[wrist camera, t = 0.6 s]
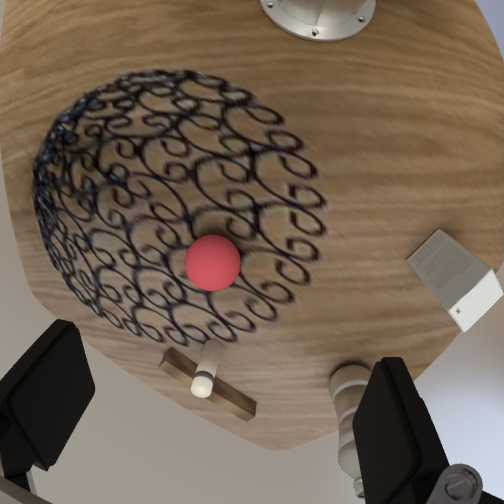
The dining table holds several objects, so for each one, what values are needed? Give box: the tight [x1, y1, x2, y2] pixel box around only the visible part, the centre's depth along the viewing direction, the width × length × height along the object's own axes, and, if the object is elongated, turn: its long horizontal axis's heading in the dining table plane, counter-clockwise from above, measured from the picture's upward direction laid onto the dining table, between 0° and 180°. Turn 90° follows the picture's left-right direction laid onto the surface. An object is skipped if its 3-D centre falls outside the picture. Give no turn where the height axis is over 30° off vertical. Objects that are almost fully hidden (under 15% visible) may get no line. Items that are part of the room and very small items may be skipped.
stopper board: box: [159, 347, 256, 422], centre depth 44 cm, size 16×2×3 cm, turn 49°
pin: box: [191, 340, 222, 398], centre depth 39 cm, size 2×2×9 cm
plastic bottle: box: [329, 365, 371, 499], centre depth 34 cm, size 6×7×20 cm
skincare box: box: [406, 229, 504, 332], centre depth 30 cm, size 6×4×12 cm
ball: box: [185, 235, 241, 291], centre depth 34 cm, size 6×6×6 cm
